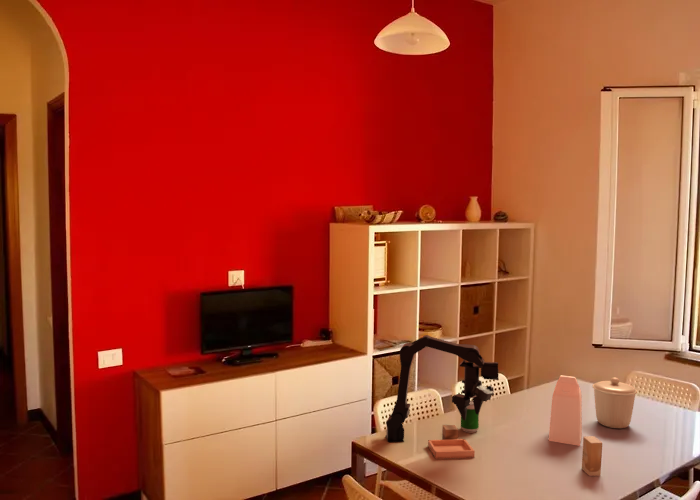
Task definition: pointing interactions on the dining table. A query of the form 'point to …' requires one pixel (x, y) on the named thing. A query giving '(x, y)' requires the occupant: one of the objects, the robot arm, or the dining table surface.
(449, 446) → the terracotta tray
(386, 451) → the dining table surface
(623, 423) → the canister
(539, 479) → the dining table surface
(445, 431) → the walnut block
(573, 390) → the milk
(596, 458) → the skincare box
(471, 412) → the soda can
